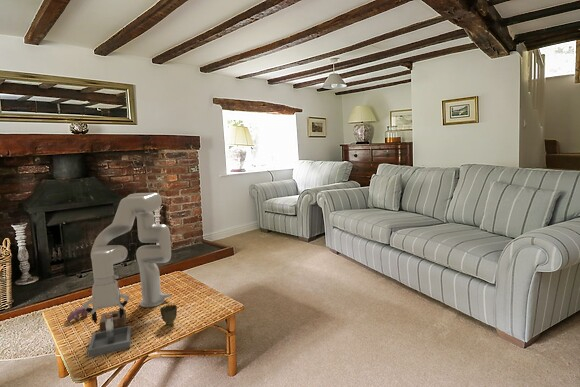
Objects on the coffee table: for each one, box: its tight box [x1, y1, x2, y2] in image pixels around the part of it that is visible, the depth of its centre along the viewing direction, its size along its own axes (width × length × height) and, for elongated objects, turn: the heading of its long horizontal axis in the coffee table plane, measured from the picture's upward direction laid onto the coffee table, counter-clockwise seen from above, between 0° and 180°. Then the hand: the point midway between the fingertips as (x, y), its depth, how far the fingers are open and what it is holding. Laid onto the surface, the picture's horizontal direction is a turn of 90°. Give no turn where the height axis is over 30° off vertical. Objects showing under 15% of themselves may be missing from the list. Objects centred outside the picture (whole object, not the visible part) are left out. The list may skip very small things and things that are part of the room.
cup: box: [159, 304, 178, 326], centre depth 162 cm, size 8×7×8 cm
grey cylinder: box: [105, 312, 115, 344], centre depth 147 cm, size 3×3×12 cm
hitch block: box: [98, 308, 128, 332], centre depth 161 cm, size 10×10×6 cm
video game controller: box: [66, 306, 90, 322], centre depth 173 cm, size 10×5×7 cm, turn 149°
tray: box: [87, 325, 132, 358], centre depth 147 cm, size 15×15×3 cm
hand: (108, 319), depth 146 cm, fingers open, 9 cm apart
